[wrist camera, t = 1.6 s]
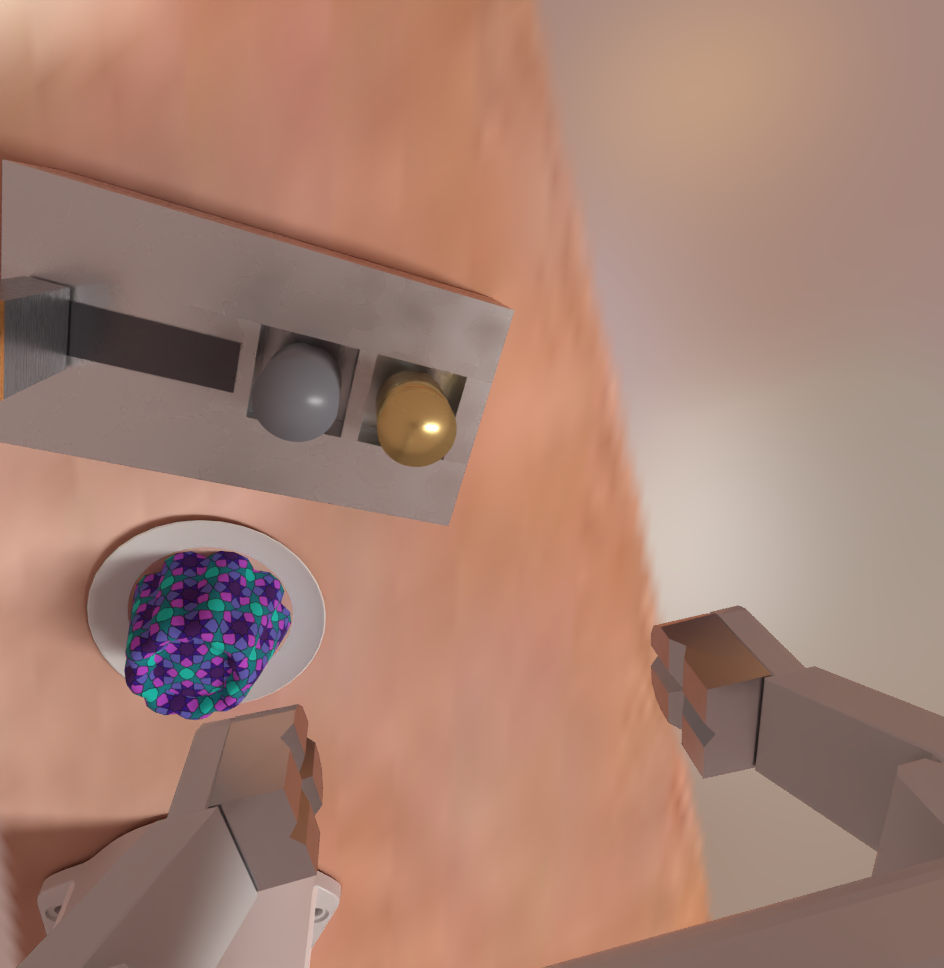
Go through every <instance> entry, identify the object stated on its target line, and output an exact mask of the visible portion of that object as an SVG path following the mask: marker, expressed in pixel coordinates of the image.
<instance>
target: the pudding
mask: <svg viewBox="0 0 944 968" xmlns="http://www.w3.org/2000/svg"><path fill="white" fill-rule="evenodd" d="M201 547H212V548H223V549H228V550H233V551H237V552H239V553H242V554H245V555H248V556H250V557H252V558H254V559H256V560H257V561H259V562H261V563H262V564H264V565H265V566H266V567H268V568H269V569H270V570H272V571H273V572H274V573H275V575H276V576H277V577H278V578H279V579H280V580H281V581H282V583H283V584H284V586H285V588H286V589H287V591H288V594H289V596H290V599H291V602H292V608H293V624H292V627H291V631H290V634H289V636H288V638H287V640H286V642H285V644H284V645H283V646H282V647H281V649H280V650H279V651H278V652H277V653H276V654H275V655H274V656H273V657H272V655H273V654H274V652H275V651H276V649H277V647H278V646H279V644H280V643H281V641H282V639H283V638H284V636H285V635H286V633H287V631H288V629H289V626H290V624H291V617H290V612H289V611H288V610H287V609H286V608H285V607H284V606H283V605H282V604H281V600H282V597H283V594H284V589H283V587H282V585H281V583H280V581H279V580H278V579H277V578H276V577H274V576H273V575H272V574H271V573H269V572H263V571H257V570H254V568H253V567H252V565H251V563H250V562H249V560H248V558H246V557H244V556H241V555H239V554H237V553H235V552H226V551H219V552H217V553H215V554H212V555H210V556H208V557H205V556H202V555H200V554H197V553H194V552H192V551H191V552H183V553H177V554H175V555H173V556H171V557H170V558H168V559H166V560H165V562H164V565H163V567H162V570H161V572H160V573H155V574H150V575H145V576H144V577H143V578H142V579H141V580H140V582H139V583H138V584H137V585H136V589H135V593H134V598H133V605H132V611H131V618H130V622H129V619H128V601H129V595H130V592H131V590H132V588H133V585H134V583H135V582H136V580H137V579H138V578H139V576H140V575H141V574H142V573H143V572H144V571H145V570H146V569H147V568H148V567H149V566H150V565H151V564H153V563H154V562H156V561H158V560H159V559H161V558H162V557H165V556H167V555H169V554H172V553H174V552H177V551H181V550H186V549H190V548H201ZM87 614H88V624H89V627H90V630H91V633H92V636H93V639H94V642H95V643H96V645H97V647H98V649H99V650H100V652H101V654H102V655H103V657H104V658H105V659H106V660H107V661H108V662H109V664H110V665H111V666H112V667H113V668H114V669H115V670H116V671H117V672H118V673H119V674H121V675H122V676H123V677H124V678H125V679H126V683H127V686H128V687H129V688H130V690H131V691H132V692H133V693H134V694H136V695H139V696H141V697H144V699H145V702H146V706H147V707H148V708H150V709H151V710H153V711H154V712H156V713H160V714H163V715H170V714H178V715H180V716H181V717H183V718H185V719H191V720H199V719H203V718H207V717H208V716H210V715H211V714H212V713H213V712H214V711H228V710H230V709H232V708H234V707H236V706H237V705H239V704H241V703H245V702H248V701H252V700H256V699H259V698H262V697H264V696H266V695H269V694H271V693H274V692H276V691H277V690H279V689H281V688H282V687H284V686H285V685H287V684H289V683H290V682H291V681H293V680H294V679H295V678H296V677H297V676H298V675H300V674H301V673H302V672H303V671H304V670H305V668H306V667H307V666H308V665H309V663H310V662H311V661H312V660H313V658H314V656H315V654H316V653H317V651H318V649H319V647H320V645H321V641H322V638H323V635H324V631H325V620H326V613H325V606H324V599H323V597H322V594H321V591H320V588H319V585H318V583H317V582H316V580H315V578H314V577H313V575H312V573H311V572H310V570H309V569H308V568H307V567H306V565H305V564H304V563H303V562H302V561H301V560H300V559H299V558H298V556H297V555H295V554H294V553H293V552H291V551H290V550H289V549H288V548H286V547H285V546H284V545H283V544H281V543H279V542H278V541H276V540H274V539H272V538H271V537H269V536H267V535H265V534H263V533H261V532H258V531H255V530H252V529H250V528H247V527H244V526H240V525H236V524H231V523H226V522H221V521H206V520H195V521H182V522H175V523H171V524H167V525H162V526H158V527H155V528H153V529H150V530H148V531H145V532H143V533H141V534H138V535H136V536H135V537H133V538H131V539H130V540H128V541H127V542H125V543H124V544H122V545H120V546H119V547H118V548H117V549H116V550H115V551H114V552H113V553H112V554H111V555H110V556H109V557H108V558H107V559H106V560H105V561H104V563H103V564H102V566H101V567H100V569H99V570H98V571H97V573H96V574H95V577H94V580H93V582H92V585H91V587H90V590H89V596H88V603H87ZM271 657H272V658H271Z"/></svg>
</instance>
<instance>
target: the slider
mask: <svg viewBox="0 0 944 968" xmlns="http://www.w3.org/2000/svg"><path fill="white" fill-rule="evenodd" d="M69 297H70V287H67V286H63V285H59V284H55V283H51V282H47V281H43V280H39V279H35V278H31V277H27V276H20V277H14V278H7V279H0V401H1V400H3V399H5V398H7V397H10V396H12V395H14V394H16V393H18V392H20V391H22V390H24V389H26V388H28V387H30V386H32V385H34V384H37V383H39V382H41V381H43V380H45V379H47V378H49V377H51V376H53V375H55V374H57V373H59V372H62V371H64V370H66V358H67V338H68V317H69Z"/></svg>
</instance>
